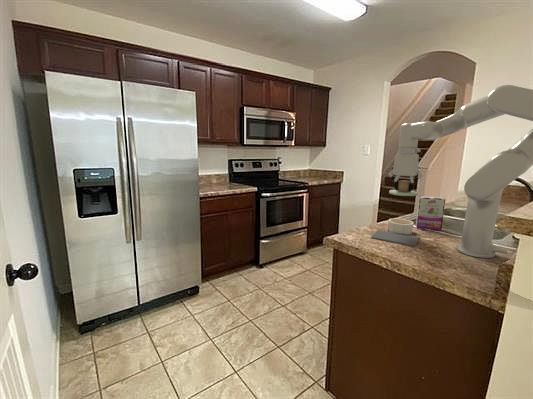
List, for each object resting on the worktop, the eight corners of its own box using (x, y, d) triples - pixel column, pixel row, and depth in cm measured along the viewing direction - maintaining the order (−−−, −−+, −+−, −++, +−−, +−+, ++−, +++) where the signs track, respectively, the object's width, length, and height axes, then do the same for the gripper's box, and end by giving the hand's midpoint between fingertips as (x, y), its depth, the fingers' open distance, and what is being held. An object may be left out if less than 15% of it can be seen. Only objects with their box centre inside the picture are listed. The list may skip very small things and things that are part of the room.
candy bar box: (439, 228, 137) (443, 197, 134) (441, 231, 132) (446, 198, 129) (414, 225, 141) (418, 195, 138) (416, 228, 137) (420, 197, 133)
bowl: (413, 230, 133) (414, 220, 132) (410, 236, 125) (411, 226, 124) (390, 226, 140) (391, 217, 138) (385, 231, 131) (386, 222, 130)
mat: (419, 238, 122) (419, 236, 122) (415, 246, 112) (415, 245, 112) (377, 230, 132) (377, 229, 132) (371, 238, 122) (371, 236, 122)
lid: (419, 193, 126) (421, 180, 125) (415, 197, 117) (416, 183, 115) (392, 190, 133) (393, 178, 132) (386, 194, 124) (387, 181, 122)
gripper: (430, 151, 119) (425, 191, 122) (389, 151, 129) (386, 188, 132) (427, 151, 113) (423, 193, 116) (385, 151, 123) (382, 190, 127)
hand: (403, 190), depth 124 cm, fingers closed on lid, 5 cm apart
